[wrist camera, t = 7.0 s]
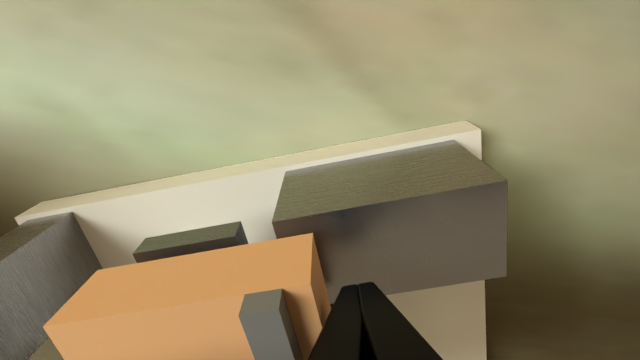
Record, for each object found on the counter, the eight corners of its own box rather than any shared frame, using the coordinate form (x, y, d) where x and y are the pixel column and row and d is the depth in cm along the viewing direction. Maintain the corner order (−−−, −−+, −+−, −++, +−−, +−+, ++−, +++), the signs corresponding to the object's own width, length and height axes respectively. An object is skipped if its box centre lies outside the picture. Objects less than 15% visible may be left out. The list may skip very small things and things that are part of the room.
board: (179, 446, 22) (170, 473, 21) (41, 201, 16) (14, 217, 14) (477, 409, 21) (488, 435, 19) (465, 120, 14) (481, 129, 13)
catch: (140, 349, 11) (86, 441, 8) (97, 269, 9) (20, 349, 7) (334, 320, 10) (337, 408, 8) (312, 232, 9) (309, 304, 7)
